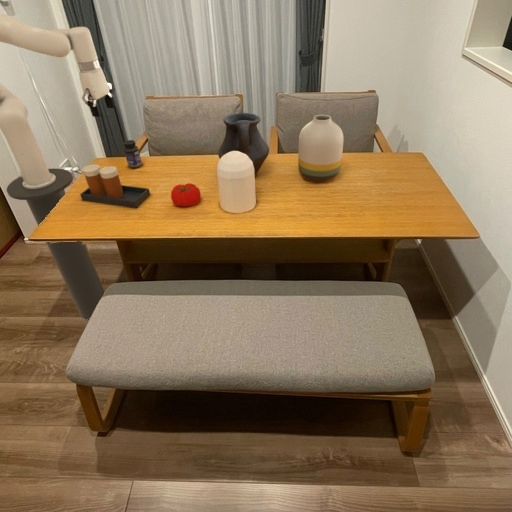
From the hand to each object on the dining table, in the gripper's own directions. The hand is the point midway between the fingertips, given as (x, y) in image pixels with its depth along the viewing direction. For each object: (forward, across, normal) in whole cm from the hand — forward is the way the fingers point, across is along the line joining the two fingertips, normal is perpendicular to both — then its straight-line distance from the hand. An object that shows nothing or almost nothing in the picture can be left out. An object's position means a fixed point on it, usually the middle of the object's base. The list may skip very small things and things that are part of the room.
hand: (103, 112), depth 154 cm
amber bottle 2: (+24, +22, +12) cm, 35 cm away
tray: (+25, +22, +12) cm, 36 cm away
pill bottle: (+26, -5, +4) cm, 26 cm away
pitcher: (+27, -8, +55) cm, 62 cm away
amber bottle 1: (+24, +22, +4) cm, 33 cm away
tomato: (+26, +19, +41) cm, 52 cm away
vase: (+28, -13, +85) cm, 90 cm away
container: (+26, +15, +60) cm, 67 cm away
